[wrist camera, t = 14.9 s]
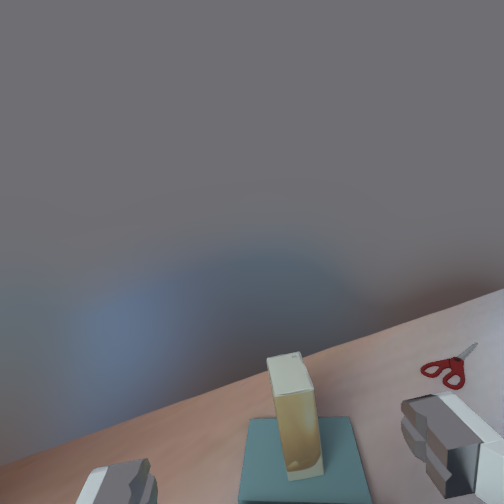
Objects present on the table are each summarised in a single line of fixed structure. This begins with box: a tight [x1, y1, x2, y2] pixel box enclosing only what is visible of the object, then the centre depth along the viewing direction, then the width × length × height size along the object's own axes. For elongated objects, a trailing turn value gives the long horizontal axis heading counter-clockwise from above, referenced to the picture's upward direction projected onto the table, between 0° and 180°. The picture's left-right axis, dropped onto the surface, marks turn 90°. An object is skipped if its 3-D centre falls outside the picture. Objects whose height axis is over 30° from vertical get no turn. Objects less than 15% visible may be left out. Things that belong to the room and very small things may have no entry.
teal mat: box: [238, 417, 372, 504], centre depth 32 cm, size 14×10×1 cm
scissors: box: [421, 343, 478, 390], centre depth 42 cm, size 5×14×1 cm, turn 120°
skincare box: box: [267, 352, 324, 481], centre depth 30 cm, size 6×4×12 cm
